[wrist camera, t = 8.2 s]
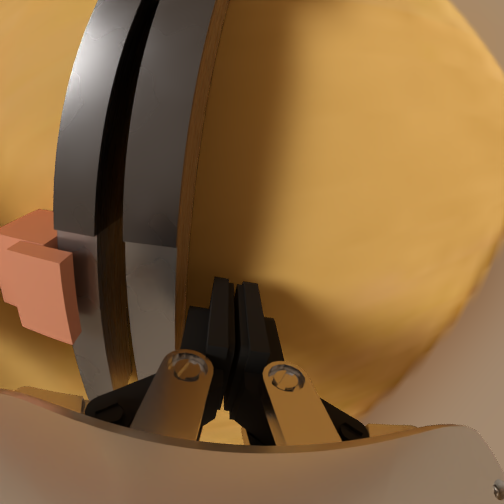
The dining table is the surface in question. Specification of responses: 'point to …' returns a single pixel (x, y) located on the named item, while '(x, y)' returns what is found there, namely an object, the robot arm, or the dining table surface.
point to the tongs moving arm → (166, 171)
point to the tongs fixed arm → (100, 184)
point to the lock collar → (39, 277)
